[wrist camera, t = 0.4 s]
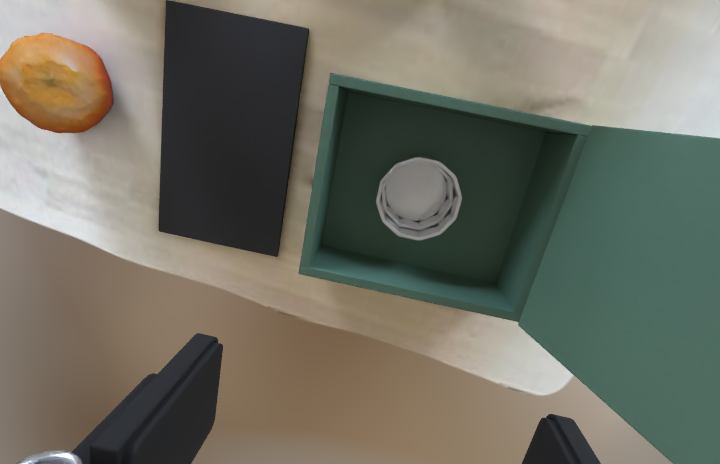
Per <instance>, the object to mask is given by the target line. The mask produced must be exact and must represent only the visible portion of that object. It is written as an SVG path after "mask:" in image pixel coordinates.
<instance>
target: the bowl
mask: <svg viewBox="0 0 720 464" xmlns="http://www.w3.org/2000/svg"><path fill="white" fill-rule="evenodd" d="M445 171H446V172H447V173H448V174H449V175H450V177H449V176H448V175H447V174H446V172H445ZM444 177H445V178H446V180H445V178H444ZM385 187H386V188H385ZM453 190H454V196H453ZM381 193H382V200H381ZM446 195H447V197H446ZM461 201H462V195H461V191H460V187H459V184H458V180H457V177H456V176H455V175H454V174H453V173H452V172H451V171H450V170H449V169H448V168H447V167H446V166H445V165H444V164H442V163H441V162H440V161H439V160H438V159H437V158H433V157H428V156H423V155H418V154H415V155H412V156H409V157H406V158H403V159H400V160H397V161H395V162H394V163H393V164H392V165H391V166H390V167H389V169H388V170H387V171H386V172H385V173H384V174H383V175H382V177H381V180H380V184H379V189H378V194H377V198H376V204H377V207H378V210H379V213H380V216H381V219H382V222H383V223H384V224H385V225H386V226H387V227H388V228H390V229H391V230H392V231H393V232H394V233H395V234H396V235H398V236H399V237H404V238H409V239H413V240H418V241H419V240H420V241H421V240H424V239H427V238H431V237H434V236H438V235H440V234H442V233H443V232H444V231H445V230H446V229H447V228H448V227H449V226H450V225H451V224H452V223H453V222H454V221H455V220H456V218H457V215H458V212H459V208H460V205H461ZM382 202H383V203H382ZM387 202H388V204H387ZM449 209H450V210H449ZM448 211H449V212H448ZM447 212H448V213H447ZM386 213H387V214H388V215H387V214H386ZM399 216H400V217H399ZM435 224H436V225H435Z"/></svg>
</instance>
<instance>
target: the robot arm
mask: <svg viewBox="0 0 720 464" xmlns="http://www.w3.org/2000/svg"><path fill="white" fill-rule="evenodd" d="M222 351H223V345H222V344H219V343H218V339H217V338H216V337H212V336H208V335H204V334H199V333H198V334H196V335H194V337H193V338H192V339H191V340H190V341H189V342H188V343H187V344H186V345H185V346H184V347H183V348H182V349H181V350H180V351H179V352H178V354H177V355H175V356H174V358H173V359H172V360H171V361H170V362H169V363H168V364H167V365H166V366H165V367H164V368H163V369H162V370H161V371H160V372H159V373H158V374H154V373H153V374H150V375H148V376H147V377H146V378H145V379H143V381H141V383H140V384H139V385H138V386H137V387H136V388H135V389H134V390H133V391H132V392H131V393H130V394H129V395H128V396H127V397H126V398H125V399H124V400H123V401H122V402H121V403H120V404H119V405H118V406H117V407H116V408H115V409H114V410H113V411H112V412H111V413H110V414H109V415H108V416H107V417H106V418H105V419H104V420H103V421H102V422H101V423H100V424H99V425H98V426H97V427H96V428H95V429H94V430H93V431H92V432H91V433H90V434H89V435H88V436H87V437H86V438H85V439H84V440H83V441H82V442H81V443H80V444H79V445H78V446H77V447H76V448H75V449H74V450H73V451H72V452H68V451H60V450H53V451H47V452H42V453H38V454H36V455H33V456H30V457H28V458H25V459H23V460H22V461H20V462H18V463H17V464H191V463H192V461H193V459H194V458H195V456H196V454H197V453H198V451H199V449H200V448H201V446H202V444H203V442H204V441H205V439H206V438H207V436H208V434H209V433H210V431H211V429H212V426H213V423H214V420H215V414H216V404H217V396H218V387H219V378H220V368H221V360H222ZM522 464H600V462H599V460H598V459H597V457H596V455H595V454H594V452H593V451H592V449H591V447H590V446H589V444H588V442H587V441H586V439H585V437H584V436H583V434H582V433H581V431H580V429H579V428H578V426H577V425H576V423H575V422H574V420H572V419H570V418H566V417H562V416H557V415H553V414H549V415H548V416H547V417H546V418H542V419H541V420H540V422H539V424H538V426H537V429H536V431H535V434H534V436H533V438H532V441H531V443H530V446H529V448H528V450H527V453H526V455H525V458H524V460H523V462H522Z"/></svg>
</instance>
